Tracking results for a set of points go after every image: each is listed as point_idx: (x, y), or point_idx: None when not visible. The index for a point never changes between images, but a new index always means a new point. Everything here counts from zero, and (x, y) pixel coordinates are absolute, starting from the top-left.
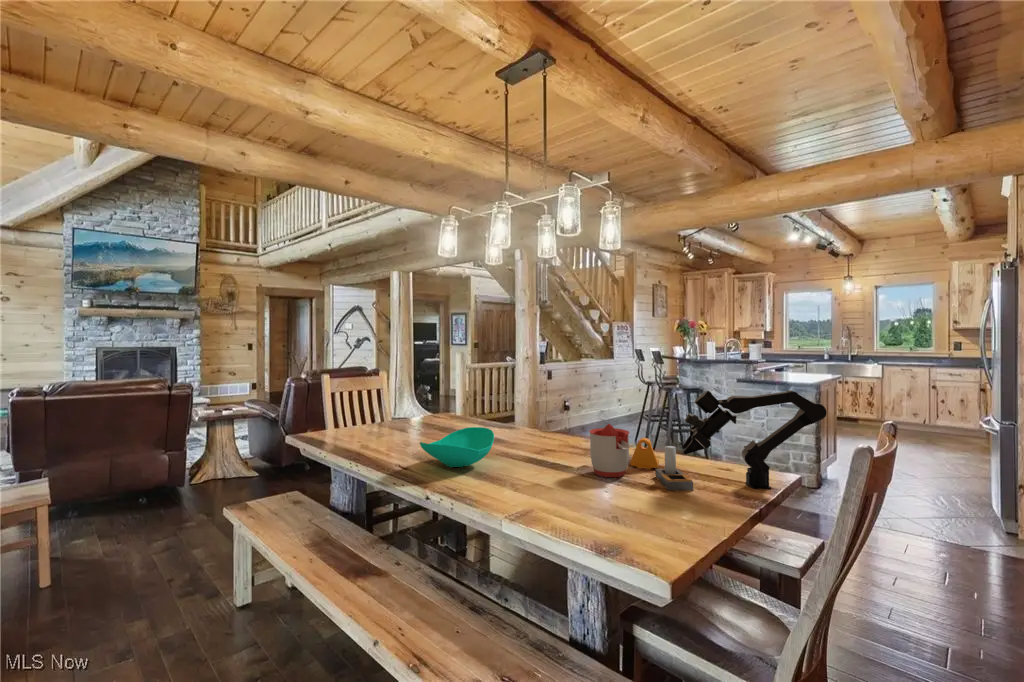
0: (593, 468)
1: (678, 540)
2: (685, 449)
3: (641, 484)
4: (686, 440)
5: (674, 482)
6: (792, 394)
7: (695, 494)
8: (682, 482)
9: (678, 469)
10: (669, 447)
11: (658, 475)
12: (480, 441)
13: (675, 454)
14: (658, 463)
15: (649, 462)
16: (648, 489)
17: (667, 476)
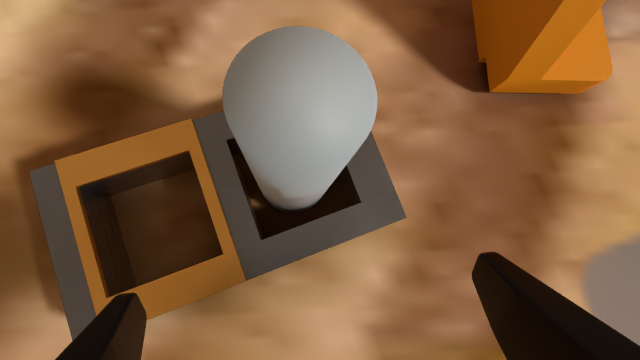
0: None
1: None
2: (67, 346)
3: (151, 35)
4: (598, 339)
5: (42, 215)
6: None
7: (24, 350)
8: (57, 269)
9: (389, 219)
10: (281, 89)
11: None
12: None
13: (282, 185)
14: (563, 88)
15: (502, 30)
16: (60, 77)
17: (150, 159)
